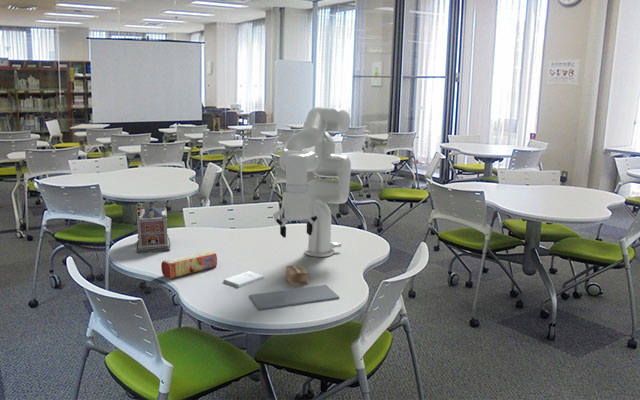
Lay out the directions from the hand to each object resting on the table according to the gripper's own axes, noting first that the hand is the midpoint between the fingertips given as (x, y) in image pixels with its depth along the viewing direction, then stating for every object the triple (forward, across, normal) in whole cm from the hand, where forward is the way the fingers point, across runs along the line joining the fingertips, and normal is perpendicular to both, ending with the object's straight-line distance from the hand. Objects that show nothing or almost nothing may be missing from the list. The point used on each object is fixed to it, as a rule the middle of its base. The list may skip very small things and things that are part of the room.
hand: (296, 235), depth 199 cm
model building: (+17, +45, -61) cm, 78 cm away
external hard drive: (+18, +18, -7) cm, 26 cm away
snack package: (+18, +35, -23) cm, 45 cm away
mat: (+17, +6, +15) cm, 23 cm away
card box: (+18, 0, 0) cm, 18 cm away
